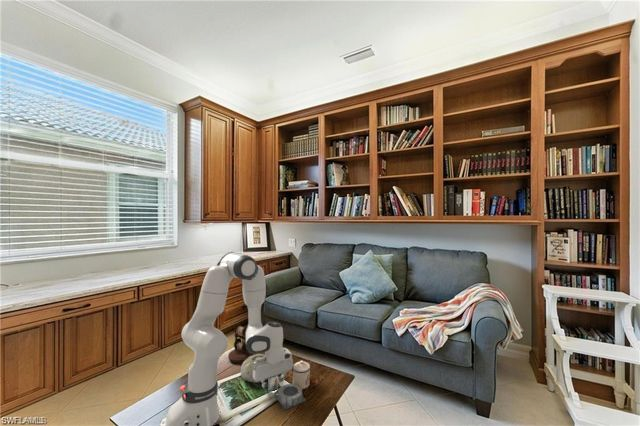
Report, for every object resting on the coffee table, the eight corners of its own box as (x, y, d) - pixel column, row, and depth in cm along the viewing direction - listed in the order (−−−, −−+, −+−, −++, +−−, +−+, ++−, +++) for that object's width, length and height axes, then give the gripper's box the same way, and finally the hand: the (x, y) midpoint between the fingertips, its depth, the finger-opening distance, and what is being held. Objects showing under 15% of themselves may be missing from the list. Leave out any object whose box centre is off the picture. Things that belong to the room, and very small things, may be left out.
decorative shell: (254, 392, 129) (255, 371, 129) (233, 378, 139) (233, 359, 140) (281, 375, 143) (281, 356, 143) (259, 363, 154) (260, 346, 154)
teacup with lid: (309, 390, 131) (309, 366, 131) (291, 389, 132) (291, 365, 132) (311, 375, 143) (311, 354, 143) (294, 374, 144) (294, 353, 144)
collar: (284, 410, 118) (284, 402, 118) (274, 395, 127) (274, 388, 127) (306, 401, 123) (306, 393, 124) (295, 388, 133) (295, 381, 133)
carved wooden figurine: (258, 356, 162) (259, 323, 162) (239, 367, 149) (240, 332, 150) (242, 349, 170) (243, 318, 170) (222, 359, 157) (223, 325, 157)
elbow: (270, 395, 127) (271, 380, 127) (266, 388, 132) (266, 374, 132) (280, 391, 130) (280, 377, 130) (275, 385, 135) (276, 371, 135)
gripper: (255, 364, 123) (254, 394, 123) (294, 353, 134) (294, 380, 134) (251, 358, 128) (250, 387, 128) (289, 347, 140) (288, 374, 140)
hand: (273, 383), depth 131 cm, fingers open, 8 cm apart
